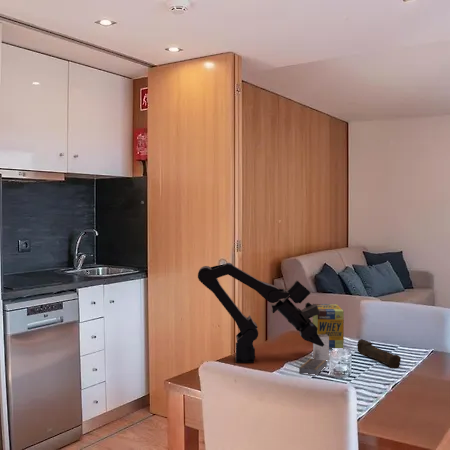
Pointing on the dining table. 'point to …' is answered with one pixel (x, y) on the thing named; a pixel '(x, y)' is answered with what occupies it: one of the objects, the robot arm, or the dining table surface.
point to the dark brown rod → (378, 354)
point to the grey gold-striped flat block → (313, 366)
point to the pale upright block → (321, 348)
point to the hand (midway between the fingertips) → (320, 342)
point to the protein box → (331, 324)
